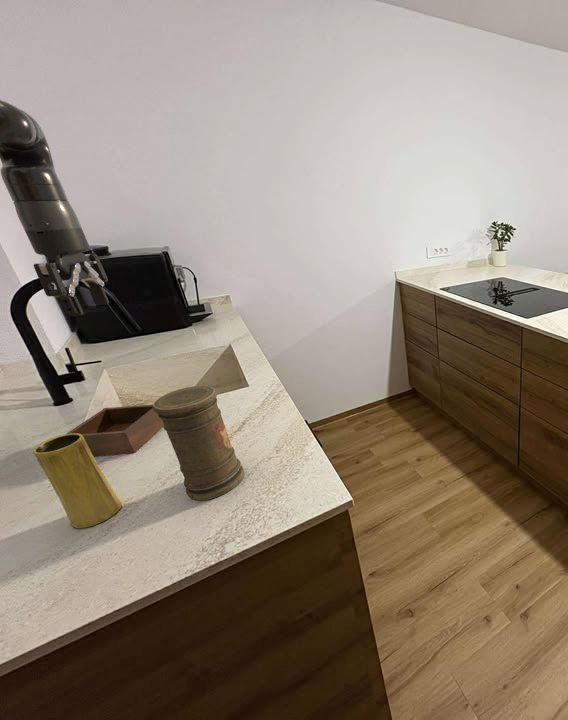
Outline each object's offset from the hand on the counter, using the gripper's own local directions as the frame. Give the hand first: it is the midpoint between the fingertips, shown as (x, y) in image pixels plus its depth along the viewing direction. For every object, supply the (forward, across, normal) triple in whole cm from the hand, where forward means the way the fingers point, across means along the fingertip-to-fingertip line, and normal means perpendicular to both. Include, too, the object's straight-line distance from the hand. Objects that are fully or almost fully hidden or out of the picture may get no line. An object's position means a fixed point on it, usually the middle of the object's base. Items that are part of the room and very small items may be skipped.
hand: (90, 309), depth 77 cm
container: (+27, +29, +25) cm, 47 cm away
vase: (+27, +32, +8) cm, 43 cm away
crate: (+27, +8, +1) cm, 28 cm away
